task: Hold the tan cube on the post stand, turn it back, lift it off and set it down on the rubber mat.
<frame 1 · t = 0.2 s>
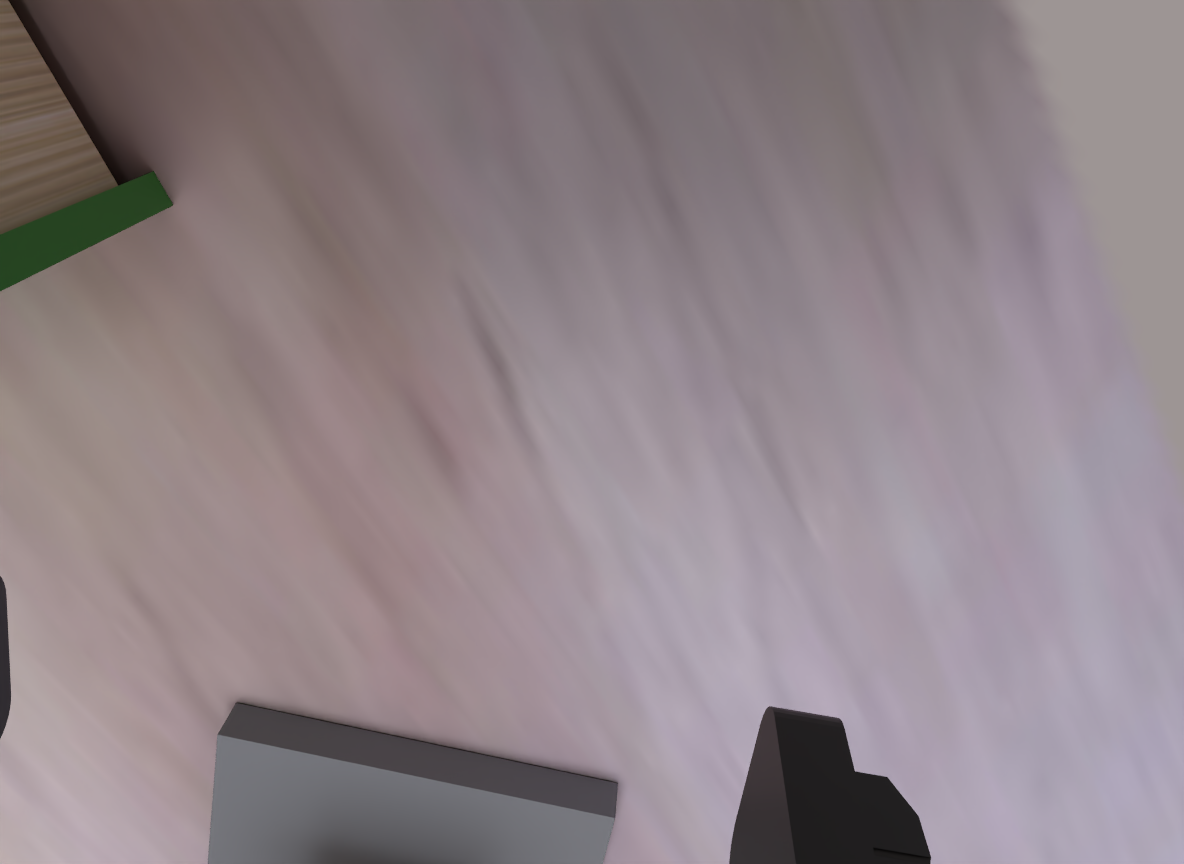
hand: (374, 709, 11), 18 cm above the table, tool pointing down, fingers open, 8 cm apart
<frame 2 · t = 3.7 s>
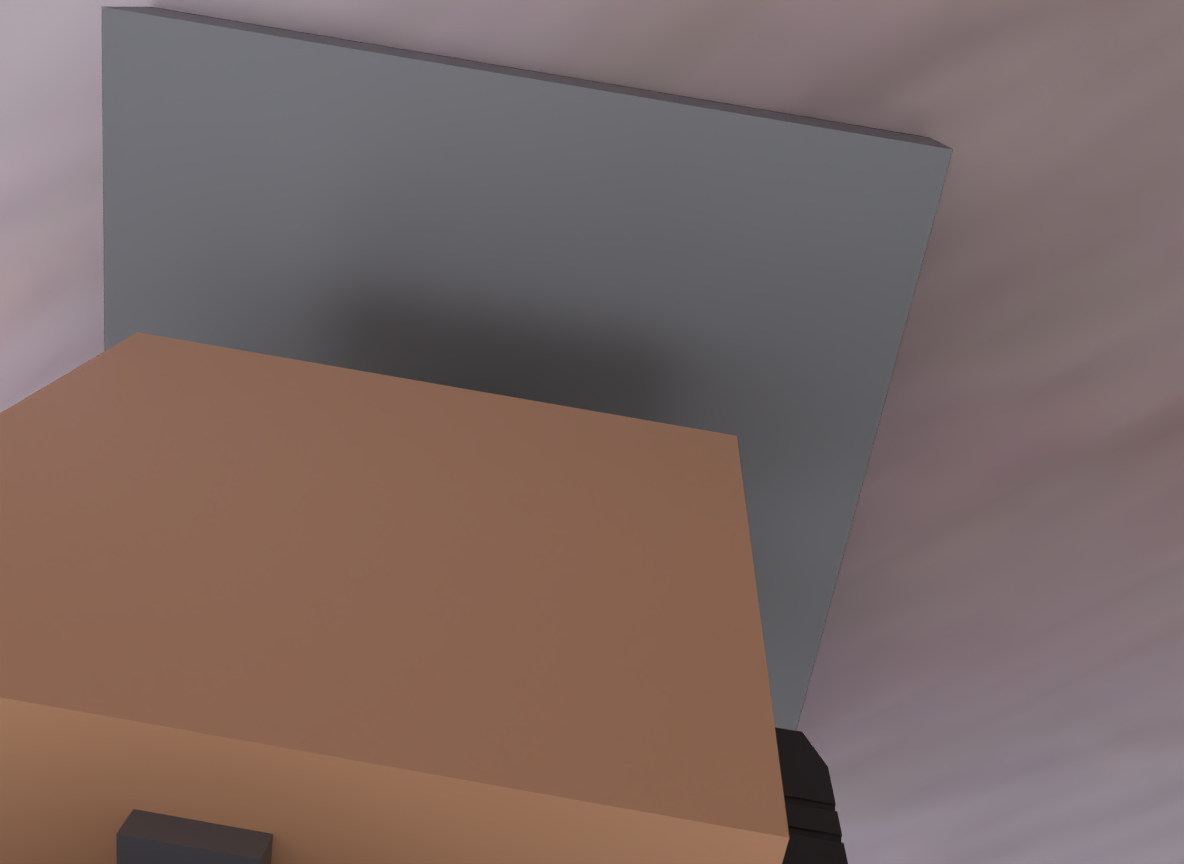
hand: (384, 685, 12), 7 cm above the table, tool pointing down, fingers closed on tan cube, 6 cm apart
post stand: (490, 435, 19), on the table
tan cube: (407, 642, 13), point 7 cm above the table, touching gripper, post stand
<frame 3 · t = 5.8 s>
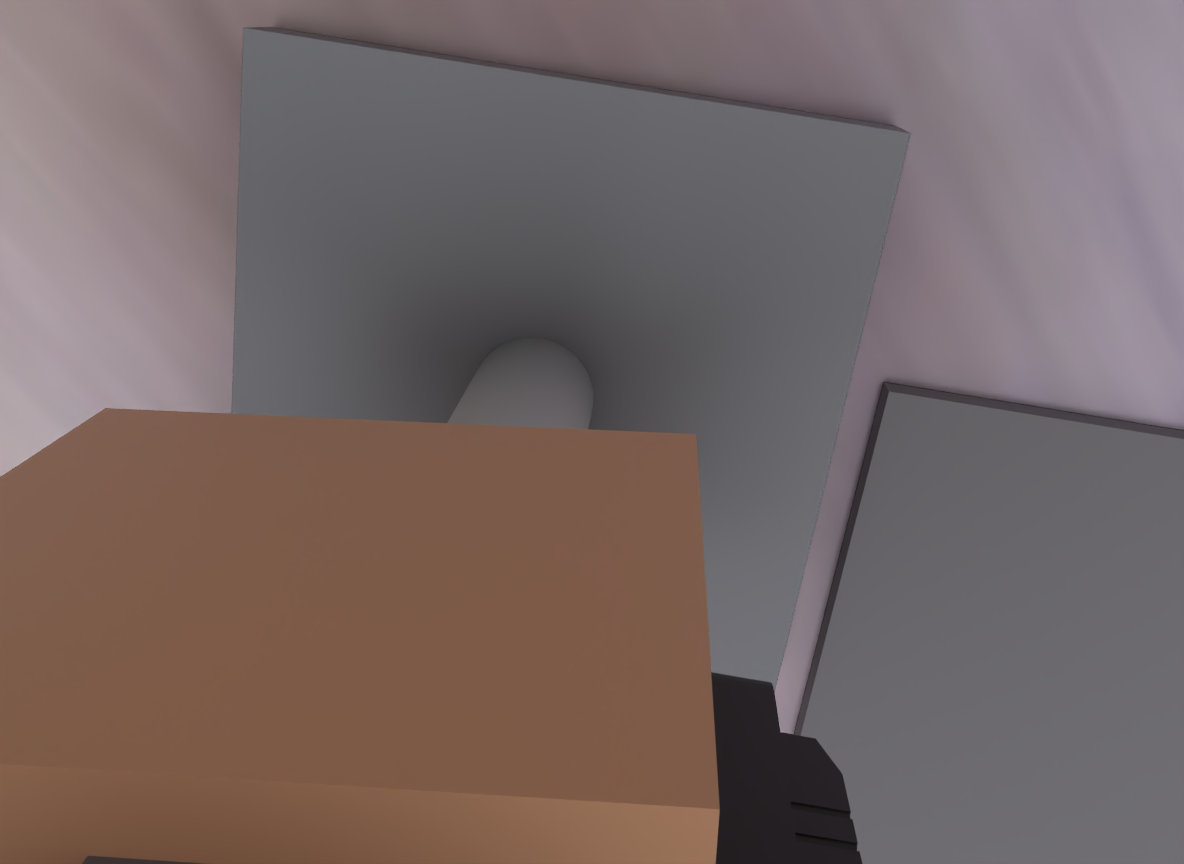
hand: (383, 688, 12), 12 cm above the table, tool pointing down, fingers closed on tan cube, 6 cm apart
post stand: (541, 373, 23), on the table
tan cube: (406, 679, 13), point 11 cm above the table, touching gripper
rubber mat: (1115, 721, 25), on the table
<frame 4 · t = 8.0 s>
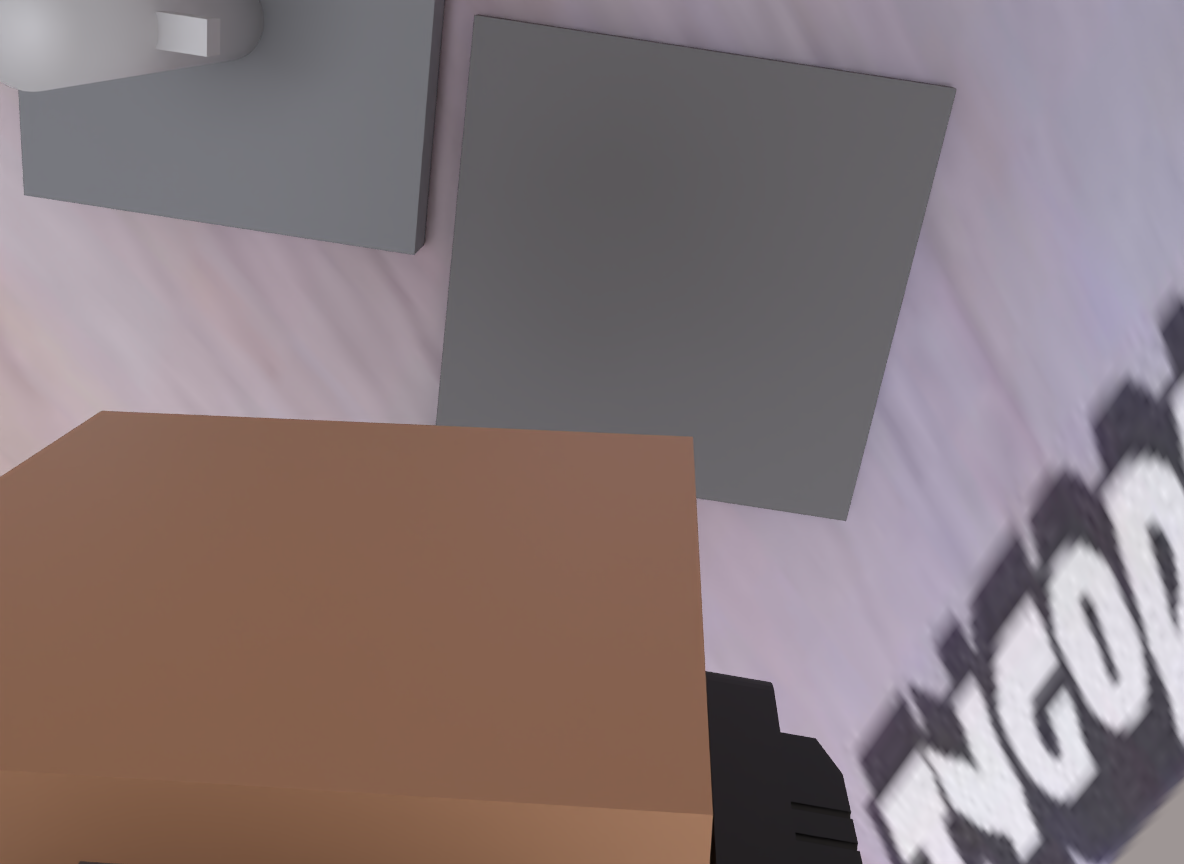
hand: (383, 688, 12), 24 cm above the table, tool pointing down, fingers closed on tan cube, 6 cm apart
post stand: (240, 14, 33), on the table
tan cube: (403, 682, 13), point 23 cm above the table, touching gripper
rubber mat: (674, 282, 35), on the table
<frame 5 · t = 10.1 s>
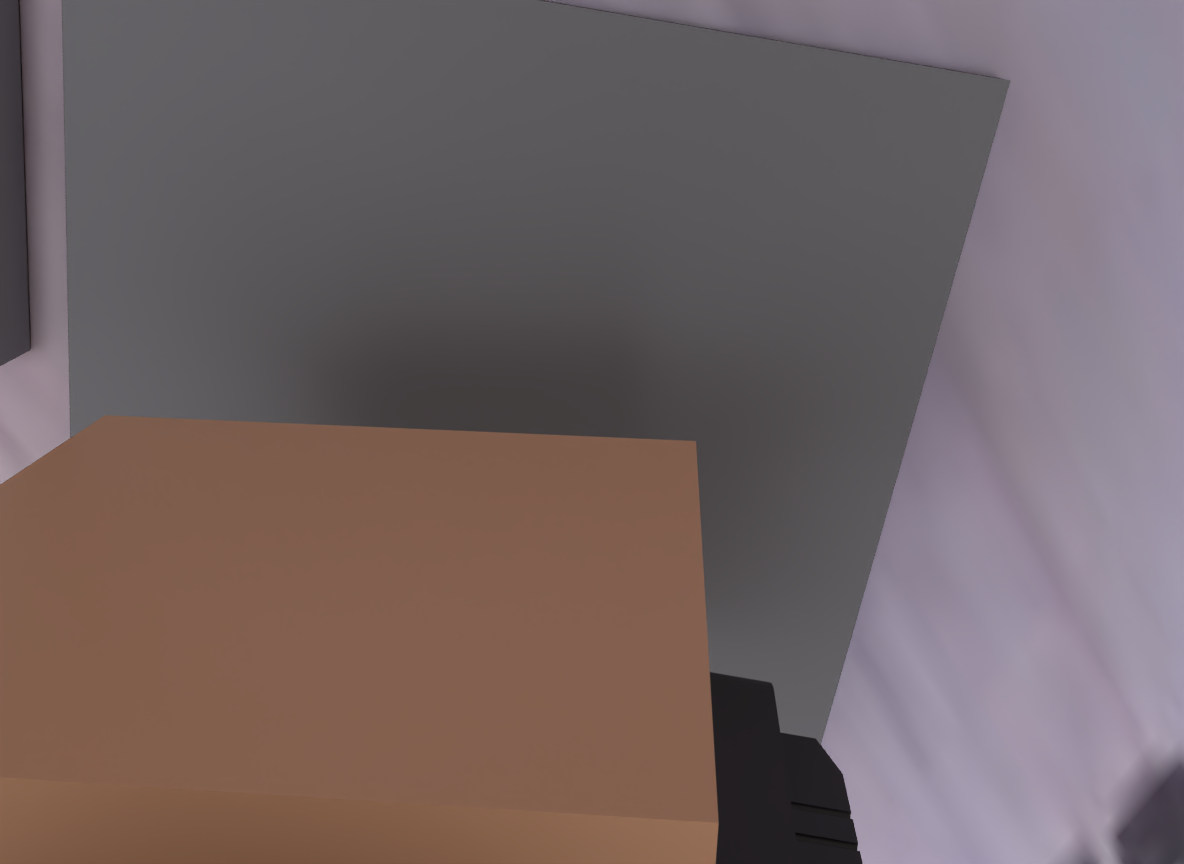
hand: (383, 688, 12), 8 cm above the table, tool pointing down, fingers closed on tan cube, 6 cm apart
tan cube: (406, 686, 13), point 7 cm above the table, touching gripper
rubber mat: (483, 427, 19), on the table
when the fingers open (3 cm above the table, at t = 12.1 s): tan cube drops 1 cm, resting on rubber mat.
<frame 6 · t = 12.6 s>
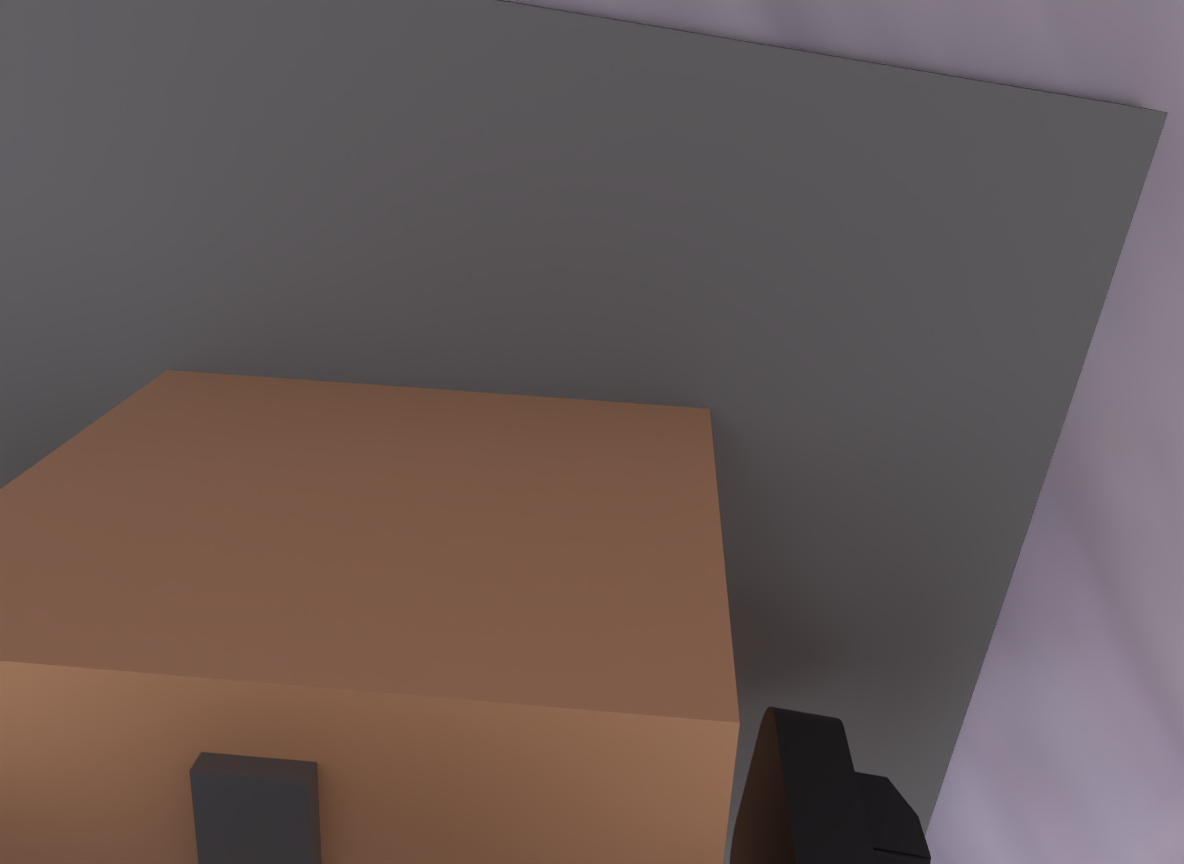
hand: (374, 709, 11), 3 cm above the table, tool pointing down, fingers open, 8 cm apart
tan cube: (435, 626, 14), point 1 cm above the table, touching rubber mat
rubber mat: (434, 568, 14), on the table
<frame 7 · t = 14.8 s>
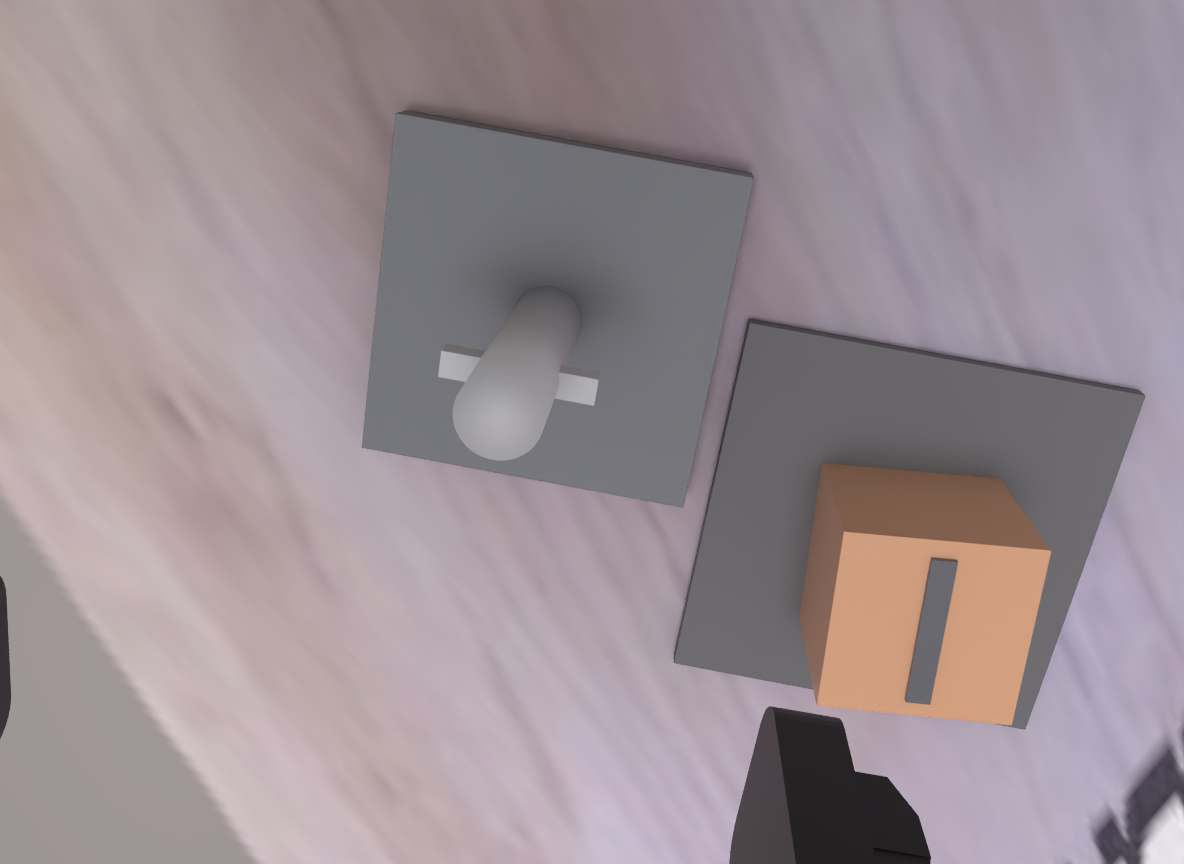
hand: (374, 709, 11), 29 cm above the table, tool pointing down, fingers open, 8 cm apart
post stand: (551, 310, 40), on the table
tan cube: (896, 550, 41), point 1 cm above the table, touching rubber mat
rubber mat: (892, 530, 41), on the table
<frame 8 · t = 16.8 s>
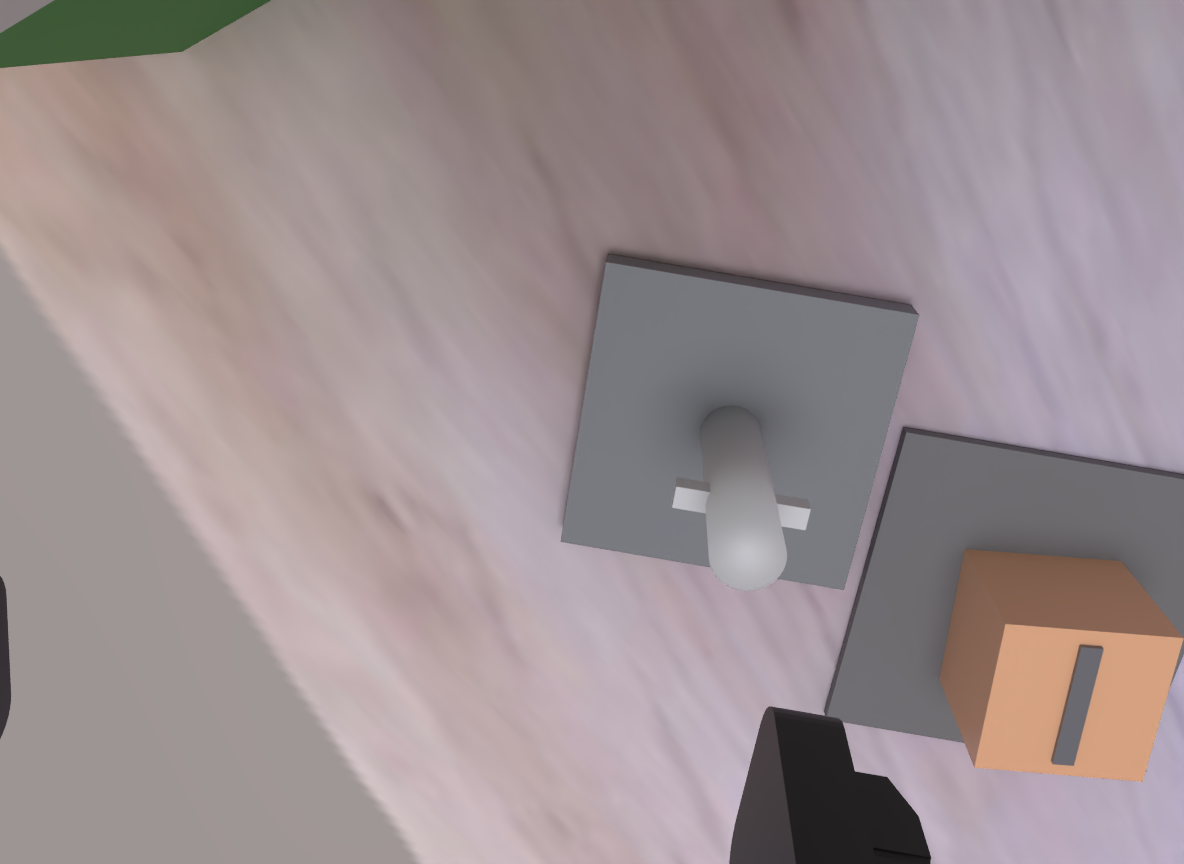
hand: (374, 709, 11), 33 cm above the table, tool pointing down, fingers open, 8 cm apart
post stand: (728, 420, 45), on the table
tan cube: (1027, 621, 47), point 1 cm above the table, touching rubber mat
rubber mat: (1022, 604, 47), on the table
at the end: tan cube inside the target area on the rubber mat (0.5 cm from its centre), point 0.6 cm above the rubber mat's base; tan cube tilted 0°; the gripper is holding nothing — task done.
